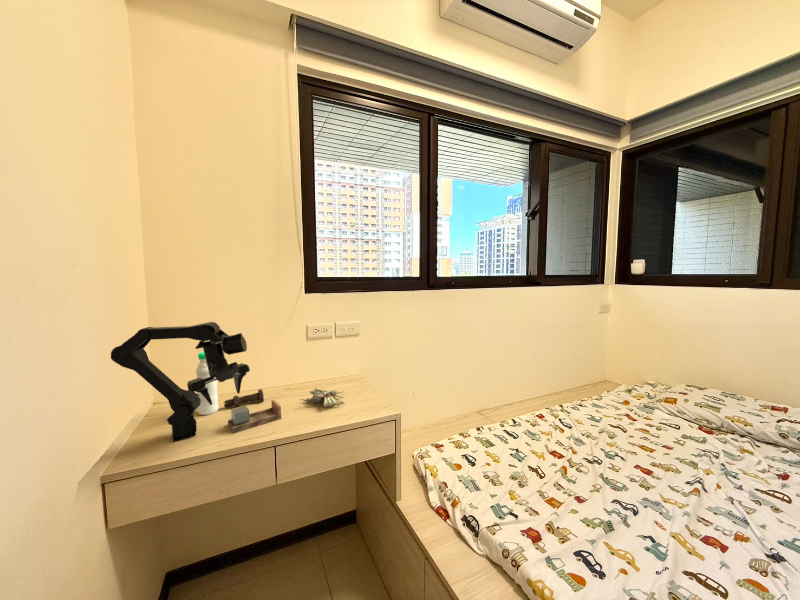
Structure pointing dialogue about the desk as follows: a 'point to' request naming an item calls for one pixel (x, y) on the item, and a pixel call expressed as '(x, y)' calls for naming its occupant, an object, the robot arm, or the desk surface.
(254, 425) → the track
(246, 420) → the block
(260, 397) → the bolt
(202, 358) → the water bottle
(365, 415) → the desk surface
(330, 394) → the figurine
